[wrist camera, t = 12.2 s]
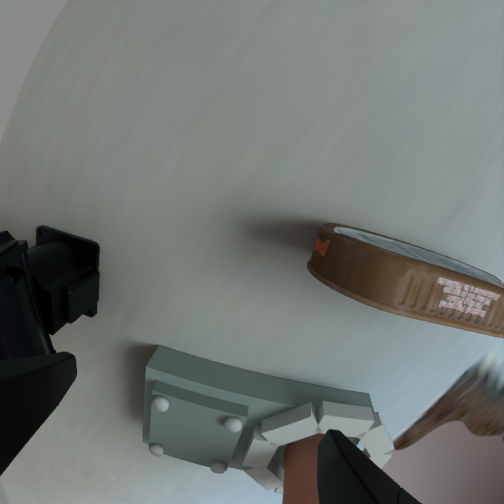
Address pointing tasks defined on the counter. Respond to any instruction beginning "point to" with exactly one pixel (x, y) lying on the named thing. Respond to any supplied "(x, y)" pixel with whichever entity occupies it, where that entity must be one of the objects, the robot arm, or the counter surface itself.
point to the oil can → (301, 471)
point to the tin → (407, 280)
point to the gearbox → (247, 416)
